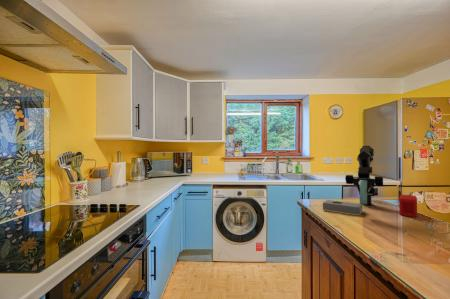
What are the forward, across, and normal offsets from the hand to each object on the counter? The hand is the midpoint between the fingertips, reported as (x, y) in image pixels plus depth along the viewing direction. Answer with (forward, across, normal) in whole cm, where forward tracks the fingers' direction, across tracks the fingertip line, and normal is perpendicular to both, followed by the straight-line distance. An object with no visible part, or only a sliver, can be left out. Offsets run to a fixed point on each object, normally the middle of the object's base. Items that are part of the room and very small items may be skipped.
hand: (363, 192), depth 132 cm
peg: (+4, 0, +6) cm, 7 cm away
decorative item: (-4, +21, +23) cm, 31 cm away
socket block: (+5, -11, +14) cm, 19 cm away
